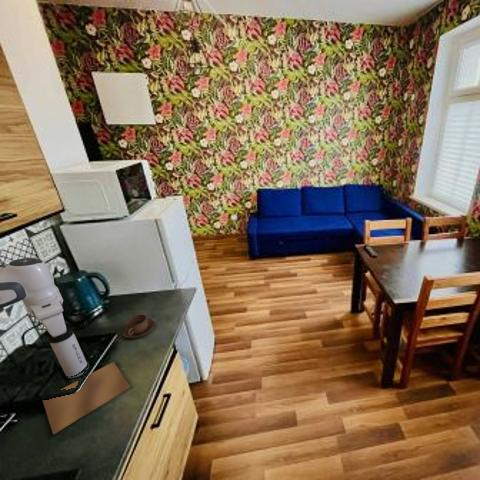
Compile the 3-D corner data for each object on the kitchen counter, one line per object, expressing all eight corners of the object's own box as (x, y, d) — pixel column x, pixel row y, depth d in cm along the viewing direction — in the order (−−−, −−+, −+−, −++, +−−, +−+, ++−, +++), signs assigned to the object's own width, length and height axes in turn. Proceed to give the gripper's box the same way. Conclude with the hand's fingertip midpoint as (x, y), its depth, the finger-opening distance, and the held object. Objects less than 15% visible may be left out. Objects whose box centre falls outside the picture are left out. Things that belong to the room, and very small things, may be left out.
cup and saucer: (152, 337, 115) (149, 325, 113) (119, 343, 112) (115, 332, 109) (157, 319, 126) (154, 309, 123) (128, 325, 122) (124, 314, 120)
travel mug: (64, 372, 98) (42, 330, 90) (86, 362, 103) (68, 320, 95) (67, 382, 94) (45, 339, 87) (90, 371, 99) (71, 328, 91)
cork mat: (53, 434, 79) (52, 433, 78) (42, 400, 88) (42, 399, 88) (130, 387, 93) (130, 386, 93) (114, 362, 103) (113, 361, 102)
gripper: (26, 294, 95) (42, 325, 100) (36, 318, 83) (53, 352, 89) (50, 287, 99) (64, 317, 105) (63, 309, 88) (77, 341, 93)
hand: (59, 333), depth 97 cm, fingers closed
